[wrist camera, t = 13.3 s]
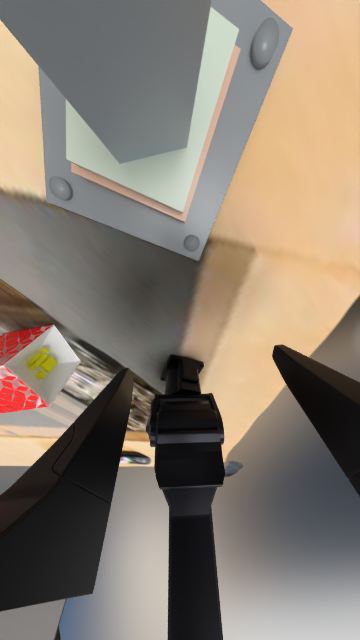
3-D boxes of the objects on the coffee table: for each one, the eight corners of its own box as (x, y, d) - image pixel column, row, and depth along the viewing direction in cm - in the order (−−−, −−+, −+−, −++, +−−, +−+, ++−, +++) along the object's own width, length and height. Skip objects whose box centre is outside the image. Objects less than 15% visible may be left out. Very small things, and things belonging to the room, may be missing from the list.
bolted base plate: (197, 260, 19) (203, 267, 15) (52, 202, 15) (17, 195, 12) (285, 40, 11) (335, -43, 8) (35, -168, 8) (-74, -484, 4)
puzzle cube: (81, 361, 27) (50, 406, 20) (39, 368, 27) (-5, 414, 20) (53, 323, 23) (2, 364, 16) (5, 332, 23) (-65, 375, 16)
